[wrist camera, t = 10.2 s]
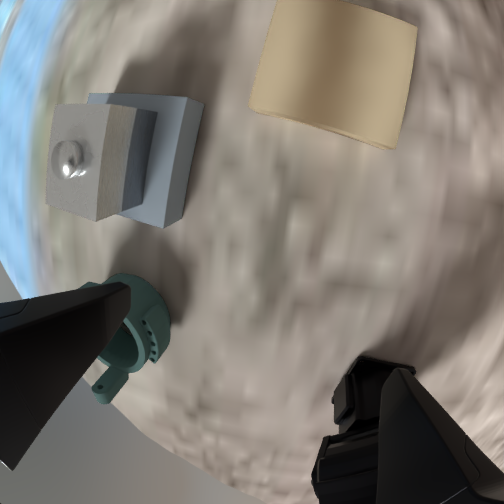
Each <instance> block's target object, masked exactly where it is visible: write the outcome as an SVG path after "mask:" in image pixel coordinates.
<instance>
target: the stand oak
mask: <svg viewBox="0 0 504 504" xmlns="http://www.w3.org/2000/svg"><path fill="white" fill-rule="evenodd" d="M417 28H418V27H416V26H414V25H411V24H409V23H407V22H404V21H402V20H399V19H397V18H394V17H391V16H389V15H386V14H383V13H380V12H377V11H374V10H371V9H368V8H365V7H362V6H358V5H355V4H351V3H348V2H344V1H340V0H277V2H276V6H275V9H274V12H273V16H272V19H271V22H270V26H269V29H268V33H267V36H266V40H265V43H264V47H263V51H262V54H261V58H260V62H259V65H258V69H257V73H256V76H255V80H254V84H253V88H252V92H251V96H250V100H249V104H248V107H250V108H251V109H252V110H254V111H255V112H257V113H259V114H264V115H269V116H273V117H278V118H282V119H286V120H290V121H294V122H298V123H302V124H306V125H309V126H313V127H317V128H320V129H324V130H327V131H330V132H334V133H337V134H340V135H343V136H346V137H349V138H352V139H355V140H358V141H361V142H364V143H367V144H370V145H373V146H375V147H378V148H381V149H383V150H385V149H396V145H397V141H398V137H399V133H400V129H401V124H402V120H403V115H404V111H405V106H406V101H407V96H408V91H409V85H410V80H411V74H412V67H413V61H414V54H415V46H416V38H417Z"/></svg>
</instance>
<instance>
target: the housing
mask: <svg viewBox="0 0 504 504" xmlns="http://www.w3.org/2000/svg"><path fill="white" fill-rule="evenodd" d="M157 114H158V112H155V111H150V110H144V109H138V108H133V107H126V106H120V105H113V104H55V110H54V115H53V121H52V128H51V135H50V143H49V152H48V163H47V178H46V204H47V205H50V206H53V207H56V208H58V209H61V210H64V211H67V212H70V213H72V214H75V215H78V216H81V217H84V218H87V219H90V220H92V221H95V222H97V221H99V220H102V219H104V218H107V217H109V216H112V215H115V214H117V213H120V212H123V211H125V210H128V209H131V208H133V207H136V206H139V205H142V202H143V194H144V187H145V180H146V173H147V167H148V161H149V155H150V149H151V144H152V139H153V133H154V128H155V124H156V119H157Z"/></svg>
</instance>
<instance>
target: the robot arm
mask: <svg viewBox="0 0 504 504" xmlns="http://www.w3.org/2000/svg"><path fill="white" fill-rule="evenodd" d="M130 308H131V287H130V285H128V284H126V283H123V282H121V281H118V282H113V283H108V284H102V285H97V286H92V287H87V288H81V289H76V290H71V291H66V292H60V293H55V294H50V295H44V296H39V297H34V298H31V299H29V298H28V299H23V300H18V301H11V302H5V303H0V461H1V462H2V463H3V464H4V465H5V466H6V467H8V468H9V469H10V470H11V471H13V470H14V469H15V467H16V466H17V465H18V463H19V461H20V460H21V458H22V457H23V456H24V454H25V453H26V451H27V450H28V448H29V447H30V445H31V444H32V443H33V441H34V440H35V438H36V437H37V436H38V434H39V432H40V431H41V429H42V428H43V427H44V426H45V424H46V423H47V421H48V420H49V419H50V417H51V416H52V415H53V413H54V412H55V411H56V409H57V408H58V407H59V405H60V404H61V403H62V401H63V400H64V399H65V397H66V396H67V395H68V394H69V392H70V391H71V390H72V388H73V387H74V386H75V384H76V383H77V382H78V381H79V379H80V378H81V377H82V376H83V374H84V373H85V372H86V371H87V369H88V368H89V367H90V366H91V364H92V363H93V362H94V361H95V359H96V358H97V357H98V356H99V354H100V353H101V352H102V351H103V350H104V348H105V347H106V346H107V345H108V343H109V342H110V340H111V339H112V337H113V336H114V334H115V333H116V331H117V330H118V328H119V327H120V325H121V324H122V322H123V321H124V319H125V318H126V316H127V315H128V313H129V311H130ZM361 361H363V362H361ZM360 362H361V363H360ZM415 374H416V370H415V368H414V367H411V366H406V365H401V364H396V363H391V362H386V361H382V360H377V359H373V358H368V357H364V356H360V357H358V358H357V359H356V360H355V362H354V364H353V365H352V367H351V369H350V370H349V372H348V374H345V375H344V376H343V378H342V380H341V381H340V383H339V384H338V386H337V388H336V389H335V391H334V396H333V397H332V404H334V423H335V424H337V425H339V434H337V435H333V436H330V435H329V436H325V437H323V441H322V444H321V447H320V450H319V453H318V456H317V459H316V462H315V465H314V468H313V471H312V474H311V477H312V480H311V484H312V486H313V488H314V491H315V494H316V496H317V498H318V499H319V504H504V473H503V472H502V471H501V470H500V469H499V468H498V467H497V466H496V465H495V464H494V463H493V462H492V461H491V460H490V459H489V458H488V457H487V456H486V455H485V454H484V453H483V452H482V451H481V450H480V449H479V448H478V447H477V446H476V444H475V443H474V442H473V441H472V440H471V439H470V438H469V436H468V435H466V433H465V432H464V431H463V430H462V429H461V428H460V426H459V425H458V424H457V423H456V422H455V421H454V420H453V419H452V417H451V416H450V415H449V414H448V413H447V412H446V411H445V410H444V409H443V407H442V406H441V405H440V404H439V403H438V402H437V401H436V400H435V399H434V398H433V397H432V395H431V394H430V393H429V392H428V391H427V390H426V389H425V388H424V387H423V386H422V385H421V384H420V382H419V381H418V380H417V379H416V378H415V377H414V375H415ZM0 504H1V503H0Z"/></svg>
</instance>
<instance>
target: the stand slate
mask: <svg viewBox="0 0 504 504" xmlns="http://www.w3.org/2000/svg"><path fill="white" fill-rule="evenodd" d="M87 104H113V105H120V106H126V107H133V108H138V109H144V110H150V111H155V112H158V114H157V119H156V124H155V128H154V133H153V139H152V144H151V149H150V155H149V161H148V167H147V173H146V180H145V187H144V194H143V202H142V205H139V206H136V207H133V208H131V209H128V210H125V211H123V212H120V213H117V215H120V216H124V217H127V218H130V219H133V220H137V221H140V222H143V223H146V224H150V225H153V226H156V227H159V228H163V229H164V228H165V227H167V226H169V225H171V224H173V223H175V222H176V221H178V220H180V219H182V213H183V207H184V201H185V195H186V190H187V184H188V179H189V173H190V168H191V163H192V158H193V153H194V148H195V144H196V139H197V134H198V130H199V125H200V121H201V117H202V112H203V108H204V104H203V103H201V102H198V101H196V100H193V99H190V98H188V97H179V96H168V95H154V94H132V93H89V97H88V101H87Z"/></svg>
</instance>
